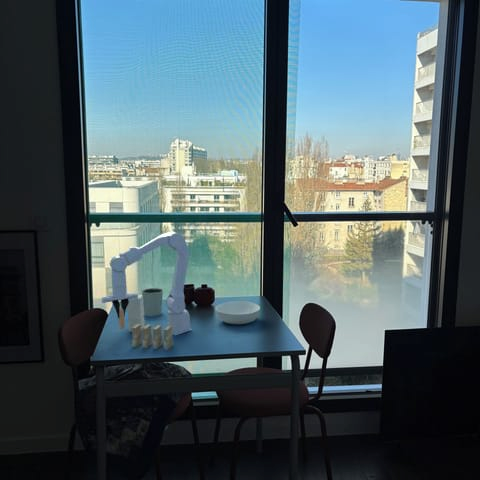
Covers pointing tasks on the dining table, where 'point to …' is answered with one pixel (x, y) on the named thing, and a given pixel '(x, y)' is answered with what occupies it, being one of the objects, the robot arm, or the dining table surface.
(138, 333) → the domino
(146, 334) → the domino
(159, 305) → the grey green plant pot
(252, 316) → the serving bowl
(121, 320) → the end domino
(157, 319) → the dining table surface
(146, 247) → the robot arm
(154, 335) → the domino
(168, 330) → the domino
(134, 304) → the skincare box
